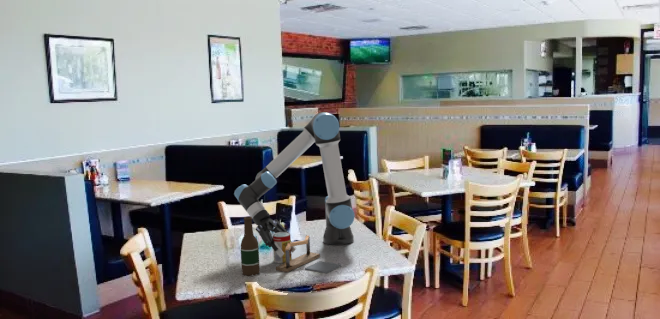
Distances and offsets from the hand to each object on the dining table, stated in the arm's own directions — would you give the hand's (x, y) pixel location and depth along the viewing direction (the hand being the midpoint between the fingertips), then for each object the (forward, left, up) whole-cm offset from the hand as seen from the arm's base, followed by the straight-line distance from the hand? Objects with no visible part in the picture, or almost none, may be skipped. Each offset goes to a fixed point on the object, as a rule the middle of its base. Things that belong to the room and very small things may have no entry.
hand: (288, 253), depth 252 cm
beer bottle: (+20, -4, -4) cm, 21 cm away
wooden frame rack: (0, +6, -4) cm, 7 cm away
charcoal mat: (0, +19, -4) cm, 19 cm away
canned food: (0, -3, -4) cm, 5 cm away
